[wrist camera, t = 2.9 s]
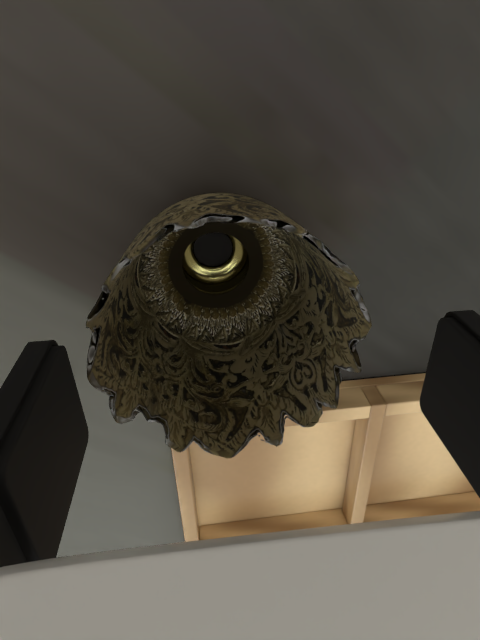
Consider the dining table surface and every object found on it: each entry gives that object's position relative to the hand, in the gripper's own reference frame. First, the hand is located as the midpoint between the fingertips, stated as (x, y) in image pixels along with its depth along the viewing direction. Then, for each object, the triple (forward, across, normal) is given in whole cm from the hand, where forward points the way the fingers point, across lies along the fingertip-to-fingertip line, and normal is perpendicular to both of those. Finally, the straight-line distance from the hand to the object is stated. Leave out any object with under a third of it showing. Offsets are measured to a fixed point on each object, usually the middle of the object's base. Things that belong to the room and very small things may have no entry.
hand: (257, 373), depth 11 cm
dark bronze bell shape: (+9, +1, 0) cm, 9 cm away
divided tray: (+9, -7, +18) cm, 21 cm away
